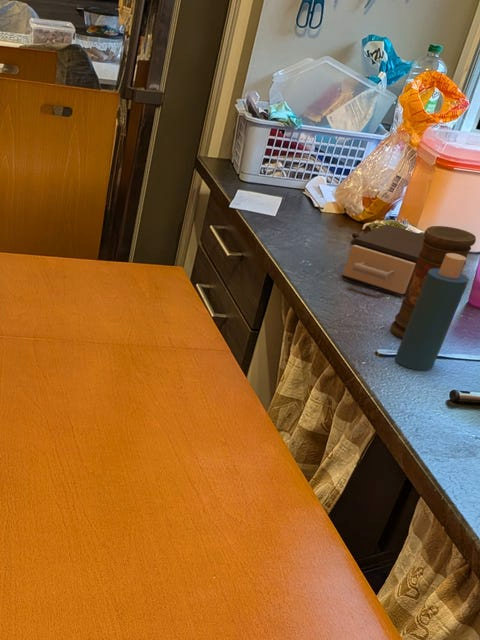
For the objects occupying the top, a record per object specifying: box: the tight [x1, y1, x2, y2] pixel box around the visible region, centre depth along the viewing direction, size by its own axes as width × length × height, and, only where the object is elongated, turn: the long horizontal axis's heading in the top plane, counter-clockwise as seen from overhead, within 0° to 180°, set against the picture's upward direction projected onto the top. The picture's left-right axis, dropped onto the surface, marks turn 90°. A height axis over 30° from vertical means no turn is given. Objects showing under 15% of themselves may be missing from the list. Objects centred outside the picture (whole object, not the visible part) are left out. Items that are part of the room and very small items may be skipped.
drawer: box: [342, 244, 416, 294], centre depth 190 cm, size 20×13×6 cm, turn 139°
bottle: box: [394, 253, 470, 371], centre depth 155 cm, size 6×6×18 cm
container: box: [390, 225, 477, 340], centre depth 165 cm, size 9×9×18 cm
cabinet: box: [341, 224, 425, 298], centre depth 192 cm, size 17×14×8 cm
